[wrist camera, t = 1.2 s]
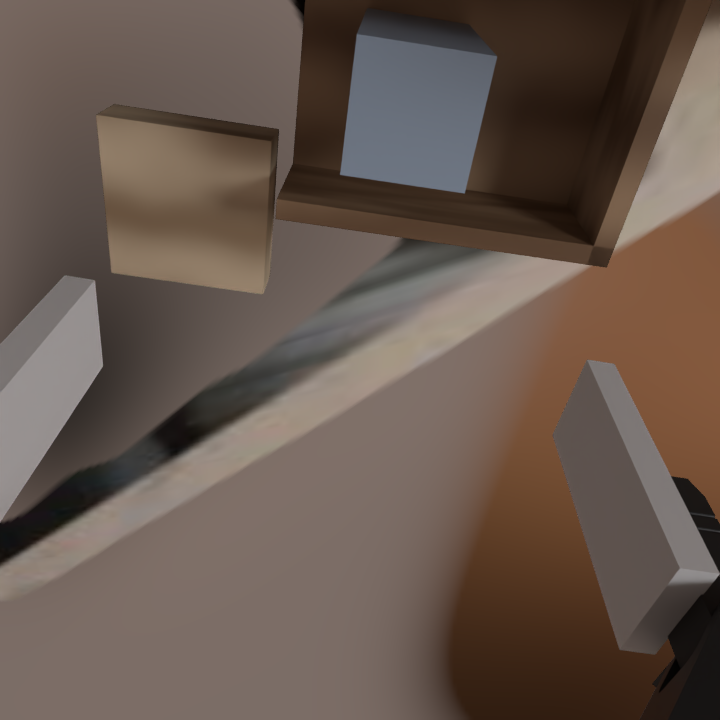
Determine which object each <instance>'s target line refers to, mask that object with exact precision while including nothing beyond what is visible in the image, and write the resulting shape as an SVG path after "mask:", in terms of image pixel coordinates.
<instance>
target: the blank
mask: <svg viewBox="0 0 720 720" xmlns="http://www.w3.org/2000/svg"><path fill="white" fill-rule="evenodd" d="M496 60H497V56H496V54H495V53H494V52H493V51H492V50H491V49H490V48H489V46H488V45H487V44H486V43H485V42H484V41H483V40H482V38H481V37H480V36H479V35H478V34H477V33H476V32H475V31H474V29H473V28H472V27H471V26H470V25H469V24H464V23H458V22H452V21H445V20H439V19H433V18H427V17H420V16H414V15H408V14H402V13H396V12H389V11H383V10H377V9H371V8H367V10H366V12H365V15H364V17H363V20H362V22H361V25H360V27H359V30H358V33H357V37H356V46H355V54H354V63H353V71H352V79H351V88H350V96H349V105H348V113H347V121H346V130H345V138H344V147H343V155H342V163H341V172H340V175H345V176H351V177H358V178H365V179H371V180H378V181H385V182H391V183H398V184H405V185H411V186H418V187H425V188H431V189H438V190H445V191H451V192H458V193H464V194H465V190H466V186H467V182H468V178H469V173H470V169H471V165H472V161H473V157H474V152H475V148H476V144H477V140H478V136H479V131H480V127H481V123H482V119H483V114H484V110H485V106H486V102H487V98H488V93H489V89H490V85H491V81H492V77H493V72H494V68H495V64H496Z"/></svg>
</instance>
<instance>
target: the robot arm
mask: <svg viewBox="0 0 720 720" xmlns="http://www.w3.org/2000/svg"><path fill="white" fill-rule="evenodd" d="M102 367H103V360H102V350H101V339H100V329H99V318H98V308H97V298H96V287H95V280H90V279H84V278H78V277H72V276H66V275H65V276H64V277H63V278H62V279H61V280H60V281H59V282H58V283H57V284H56V285H55V286H54V288H52V289H51V291H50V292H49V293H48V294H47V295H46V296H45V297H44V298H43V299H42V300H41V301H40V302H39V303H38V305H37V306H36V307H35V308H34V309H33V310H32V311H31V312H30V313H29V314H28V315H27V316H26V317H25V318H24V319H23V320H22V322H21V323H20V324H19V325H18V326H17V327H16V328H15V329H14V330H13V331H12V332H11V333H10V334H9V336H8V337H7V338H6V339H5V340H4V341H3V342H2V343H1V344H0V522H1V520H2V519H3V517H4V516H5V514H6V512H7V511H8V509H9V508H10V506H11V505H12V503H13V502H14V500H15V499H16V497H17V496H18V494H19V493H20V491H21V490H22V488H23V487H24V485H25V483H26V482H27V481H28V479H29V477H30V476H31V474H32V473H33V471H34V470H35V468H36V467H37V465H38V464H39V462H40V461H41V459H42V458H43V456H44V455H45V453H46V452H47V450H48V449H49V447H50V446H51V444H52V443H53V441H54V440H55V438H56V437H57V435H58V434H59V432H60V430H61V429H62V427H63V426H64V424H65V422H66V421H67V420H68V418H69V417H70V415H71V414H72V412H73V411H74V409H75V408H76V406H77V404H78V403H79V401H80V400H81V398H82V397H83V395H84V394H85V392H86V391H87V389H88V388H89V386H90V385H91V383H92V382H93V380H94V379H95V377H96V376H97V374H98V373H99V371H100V370H101V368H102ZM553 438H554V441H555V444H556V448H557V451H558V454H559V457H560V460H561V463H562V467H563V470H564V473H565V476H566V480H567V483H568V486H569V489H570V492H571V495H572V499H573V502H574V505H575V508H576V511H577V515H578V518H579V521H580V524H581V527H582V531H583V534H584V537H585V540H586V544H587V546H588V550H589V553H590V556H591V560H592V563H593V566H594V569H595V572H596V575H597V579H598V582H599V585H600V588H601V592H602V595H603V598H604V601H605V605H606V608H607V611H608V614H609V617H610V621H611V624H612V627H613V630H614V633H615V636H616V640H617V643H618V646H619V649H620V650H625V651H633V652H640V653H647V654H656V653H657V651H658V650H659V649H660V648H661V646H662V645H663V644H664V643H665V642H666V640H667V639H669V641H670V644H671V646H672V649H673V652H674V654H675V657H674V659H673V660H672V661H671V662H670V663H669V664H668V666H667V667H666V668H665V669H664V670H663V672H662V673H661V674H660V675H659V676H658V677H657V679H656V680H655V681H654V682H653V685H654V686H655V687H656V689H655V691H654V693H653V695H652V697H651V699H650V701H649V703H648V705H647V706H646V709H645V710H644V712H643V714H642V716H641V718H640V720H720V524H719V522H718V520H717V519H715V514H714V513H713V511H712V509H711V507H710V505H709V504H708V502H707V500H706V498H705V496H704V495H703V494H701V492H700V491H699V490H698V489H697V488H696V487H695V486H694V485H693V484H692V483H691V482H690V481H689V480H688V479H684V478H678V477H672V476H670V474H669V472H668V470H667V468H666V466H665V464H664V462H663V460H662V458H661V456H660V454H659V452H658V450H657V448H656V446H655V444H654V442H653V440H652V438H651V436H650V434H649V432H648V430H647V428H646V426H645V424H644V422H643V420H642V418H641V416H640V414H639V412H638V410H637V408H636V406H635V404H634V402H633V400H632V398H631V396H630V394H629V392H628V390H627V388H626V386H625V384H624V382H623V380H622V378H621V376H620V374H619V372H618V370H617V368H616V366H615V364H611V363H605V362H599V361H593V360H587V361H586V363H585V365H584V368H583V369H582V372H581V374H580V376H579V378H578V380H577V383H576V385H575V387H574V389H573V391H572V394H571V396H570V398H569V400H568V402H567V404H566V407H565V409H564V411H563V413H562V415H561V418H560V420H559V422H558V424H557V426H556V429H555V431H554V433H553Z"/></svg>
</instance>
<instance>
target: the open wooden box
mask: <svg viewBox="0 0 720 720" xmlns="http://www.w3.org/2000/svg"><path fill="white" fill-rule="evenodd" d="M711 3H712V0H305V11H304V24H303V37H302V51H301V65H300V78H299V90H298V105H297V118H296V131H295V144H294V157H293V165H292V167H291V169H290V171H289V173H288V176H287V178H286V180H285V182H284V185H283V187H282V189H281V191H280V193H279V196H278V198H277V206H276V219H280V220H286V221H293V222H300V223H307V224H314V225H321V226H328V227H334V228H341V229H348V230H355V231H362V232H368V233H375V234H382V235H389V236H395V237H402V238H409V239H416V240H423V241H429V242H436V243H443V244H450V245H457V246H463V247H470V248H477V249H484V250H491V251H498V252H504V253H511V254H518V255H525V256H532V257H538V258H545V259H552V260H559V261H566V262H572V263H579V264H586V265H593V266H600V267H607V265H608V263H609V260H610V258H611V255H612V253H613V250H614V248H615V245H616V243H617V240H618V238H619V235H620V232H621V230H622V227H623V225H624V222H625V220H626V217H627V215H628V212H629V210H630V207H631V205H632V202H633V200H634V197H635V195H636V192H637V190H638V187H639V185H640V182H641V180H642V177H643V174H644V172H645V169H646V167H647V164H648V162H649V159H650V157H651V154H652V152H653V149H654V147H655V144H656V142H657V139H658V137H659V134H660V132H661V129H662V127H663V124H664V122H665V119H666V116H667V114H668V111H669V109H670V106H671V104H672V101H673V99H674V96H675V94H676V91H677V89H678V86H679V84H680V81H681V79H682V76H683V74H684V71H685V69H686V66H687V64H688V61H689V58H690V56H691V53H692V51H693V48H694V46H695V43H696V41H697V38H698V36H699V33H700V31H701V28H702V26H703V23H704V21H705V18H706V16H707V13H708V11H709V8H710V6H711ZM367 8H371V9H377V10H383V11H389V12H396V13H402V14H408V15H414V16H420V17H427V18H433V19H439V20H445V21H452V22H458V23H464V24H469V25H470V26H471V27H472V28H473V29H474V31H475V32H476V33H477V34H478V35H479V36H480V37H481V38H482V40H483V41H484V42H485V43H486V44H487V45H488V46H489V48H490V49H491V50H492V51H493V52H494V53H495V54H496V56H497V60H496V64H495V68H494V72H493V77H492V81H491V85H490V89H489V93H488V98H487V102H486V106H485V110H484V114H483V119H482V123H481V127H480V131H479V136H478V140H477V144H476V148H475V152H474V157H473V161H472V165H471V169H470V173H469V178H468V182H467V186H466V190H465V194H464V193H458V192H451V191H445V190H438V189H431V188H425V187H418V186H411V185H405V184H398V183H391V182H385V181H378V180H371V179H365V178H358V177H351V176H345V175H340V172H341V163H342V155H343V147H344V138H345V130H346V121H347V113H348V105H349V96H350V88H351V79H352V71H353V63H354V54H355V46H356V37H357V33H358V30H359V27H360V25H361V22H362V20H363V17H364V15H365V12H366V10H367Z"/></svg>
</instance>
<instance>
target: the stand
mask: <svg viewBox="0 0 720 720" xmlns="http://www.w3.org/2000/svg"><path fill="white" fill-rule="evenodd" d="M96 120H97V130H98V140H99V151H100V160H101V170H102V180H103V191H104V201H105V210H106V221H107V231H108V241H109V252H110V262H111V272H112V273H116V274H124V275H131V276H137V277H144V278H151V279H158V280H166V281H173V282H181V283H187V284H194V285H201V286H208V287H215V288H222V289H229V290H236V291H244V292H251V293H257V294H263V293H264V290H265V288H266V285H267V282H268V280H269V277H270V268H271V250H272V235H273V233H272V232H273V218H274V201H275V185H276V168H277V152H278V136H279V129H274V128H267V127H261V126H254V125H247V124H241V123H234V122H228V121H221V120H215V119H208V118H202V117H195V116H188V115H182V114H176V113H169V112H162V111H156V110H149V109H142V108H136V107H130V106H122V105H116V104H114V105H112V106H110V107H109V108H107V109H105V110H104V111H102V112H100V113H99V114H97V115H96Z"/></svg>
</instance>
